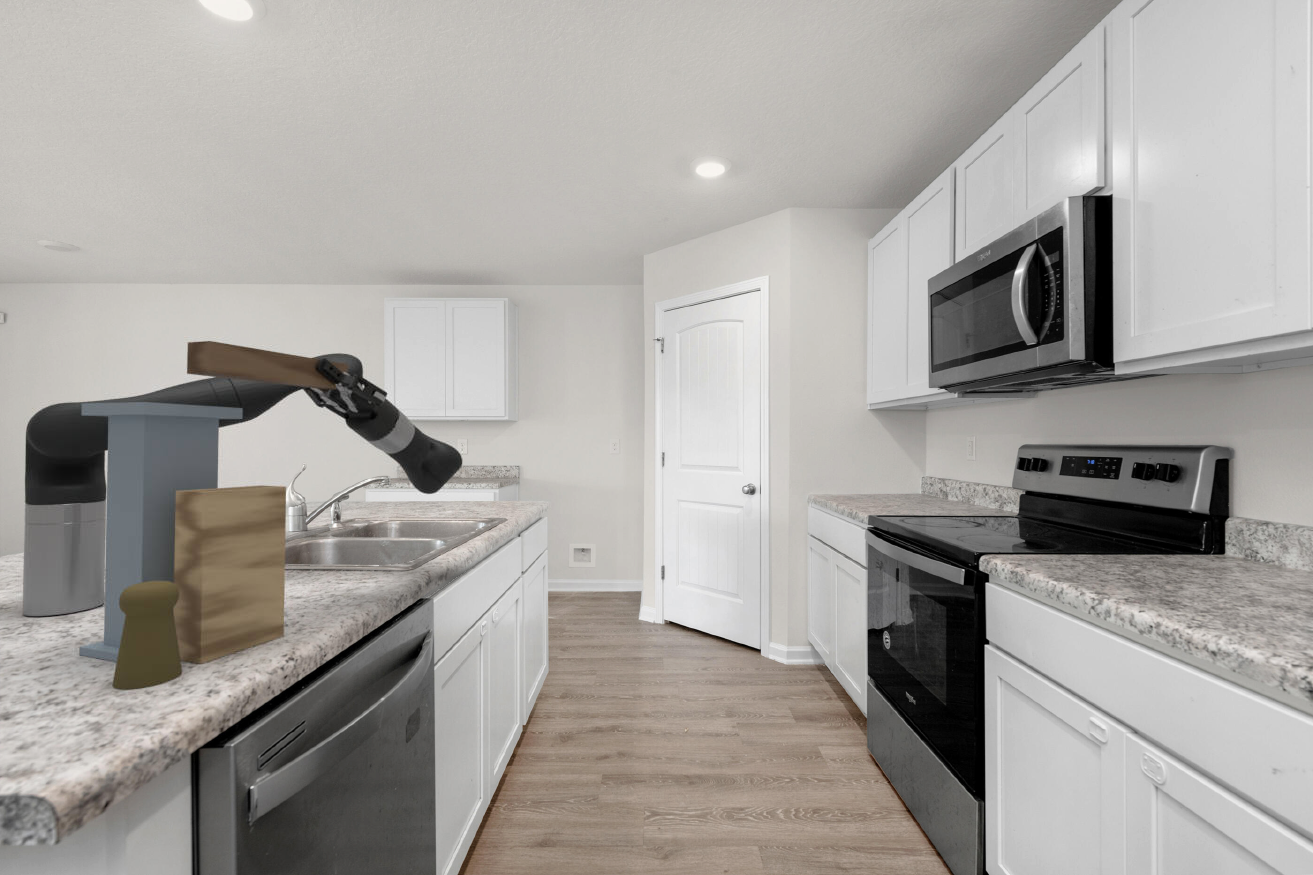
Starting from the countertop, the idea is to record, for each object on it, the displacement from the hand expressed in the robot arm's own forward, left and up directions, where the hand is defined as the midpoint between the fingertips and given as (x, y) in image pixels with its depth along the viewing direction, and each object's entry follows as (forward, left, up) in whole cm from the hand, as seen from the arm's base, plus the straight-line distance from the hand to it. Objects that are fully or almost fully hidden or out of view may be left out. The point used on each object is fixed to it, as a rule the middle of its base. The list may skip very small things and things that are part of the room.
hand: (308, 363), depth 88 cm
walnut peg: (0, -5, -3) cm, 6 cm away
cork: (+2, -21, -39) cm, 45 cm away
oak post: (0, -11, -39) cm, 41 cm away
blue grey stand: (-9, -13, -39) cm, 42 cm away
